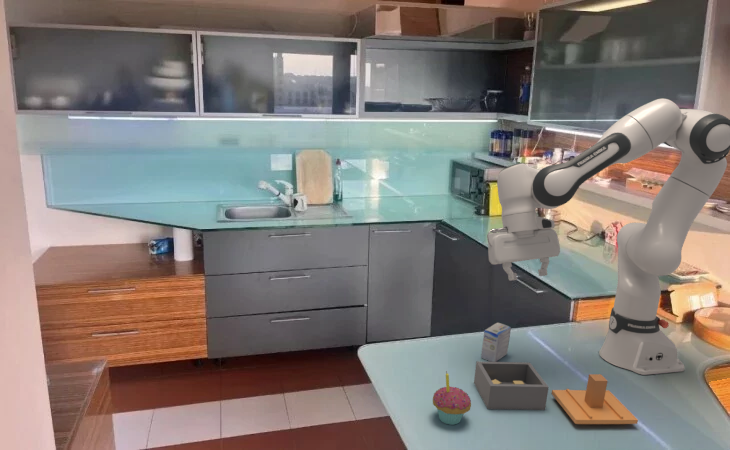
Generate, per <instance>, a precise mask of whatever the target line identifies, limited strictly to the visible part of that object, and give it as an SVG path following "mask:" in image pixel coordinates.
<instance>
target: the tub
mask: <svg viewBox="0 0 730 450" xmlns="http://www.w3.org/2000/svg"><path fill="white" fill-rule="evenodd" d="M473 379H474V380H473V384H474V386H475V388H476V390H477V392H478V393H479V396H480V398H481V399H482V402H483V403H484V405H485V406H486V409H487V410H524V411H525V410H529V411H530V410H531V411H532V410H534V411H535V410H536V411H539V410H540V411H541V410H543V411H545V410H546V406H547V401H548V395H549V394H548V393H549V385H548V384H547V383H546V382H545V380H544V378H543V377H542V376H541V374H539V372H538V371H537V369H536V368H535V367H534V365H533V364H532V363H531V362H528V361H527V362H525V361H524V362H522V361H521V362H518V361H514V362H513V361H512V362H511V361H497V362H490V361H476V363H475V369H474V378H473Z"/></svg>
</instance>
